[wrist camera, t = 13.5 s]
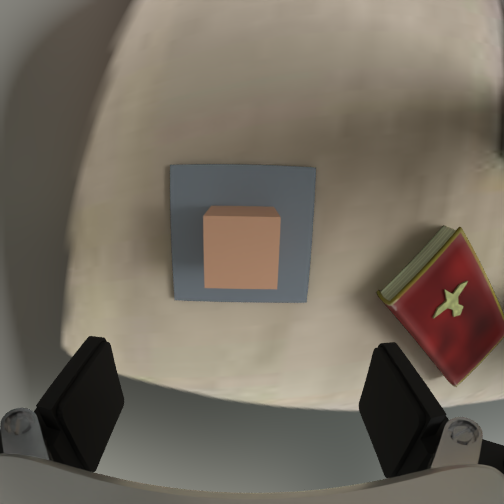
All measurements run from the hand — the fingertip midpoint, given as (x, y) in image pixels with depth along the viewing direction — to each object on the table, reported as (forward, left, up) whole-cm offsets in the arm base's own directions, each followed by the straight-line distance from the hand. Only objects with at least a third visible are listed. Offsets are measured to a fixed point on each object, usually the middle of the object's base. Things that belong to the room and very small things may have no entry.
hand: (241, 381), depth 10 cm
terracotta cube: (0, 0, -22) cm, 22 cm away
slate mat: (0, 0, -22) cm, 22 cm away
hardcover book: (-27, +9, -23) cm, 36 cm away
